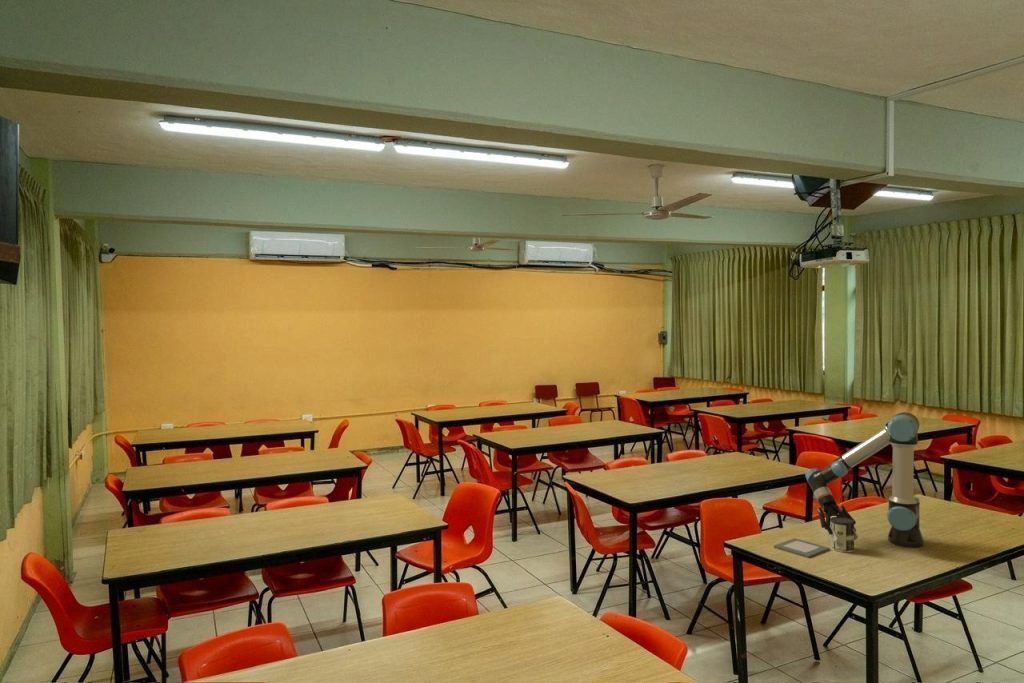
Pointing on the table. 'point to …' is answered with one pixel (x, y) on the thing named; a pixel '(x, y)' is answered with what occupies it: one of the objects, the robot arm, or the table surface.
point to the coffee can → (843, 534)
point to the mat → (801, 547)
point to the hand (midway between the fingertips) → (846, 539)
